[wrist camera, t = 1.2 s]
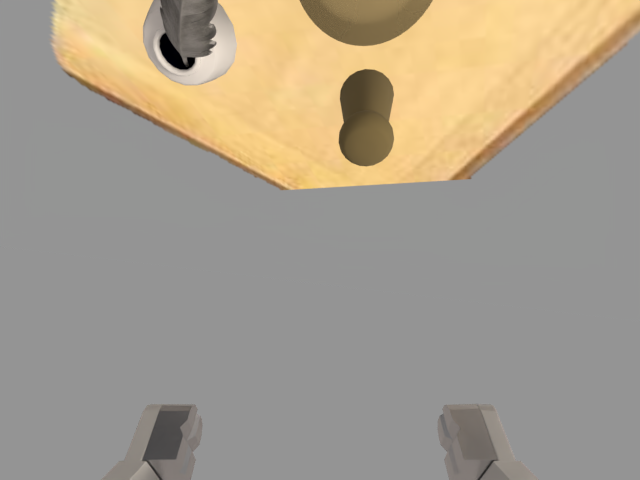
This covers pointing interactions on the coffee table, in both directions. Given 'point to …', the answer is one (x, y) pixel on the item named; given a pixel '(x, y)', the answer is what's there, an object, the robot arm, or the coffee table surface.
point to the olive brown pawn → (366, 117)
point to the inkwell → (189, 40)
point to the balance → (364, 18)
